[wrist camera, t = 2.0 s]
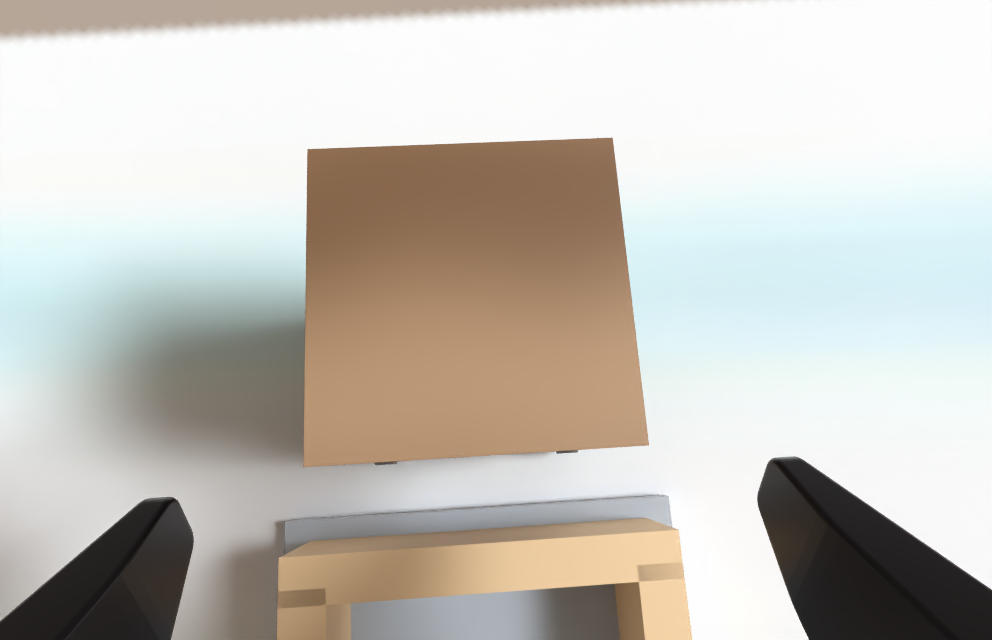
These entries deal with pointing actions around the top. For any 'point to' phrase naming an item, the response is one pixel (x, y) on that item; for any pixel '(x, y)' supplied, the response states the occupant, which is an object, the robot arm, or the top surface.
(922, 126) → the top surface
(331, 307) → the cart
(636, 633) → the dock
